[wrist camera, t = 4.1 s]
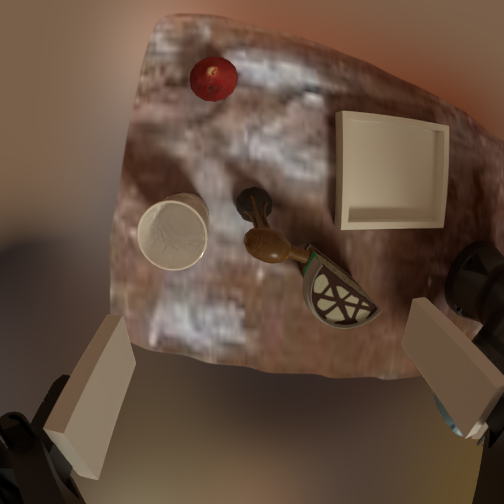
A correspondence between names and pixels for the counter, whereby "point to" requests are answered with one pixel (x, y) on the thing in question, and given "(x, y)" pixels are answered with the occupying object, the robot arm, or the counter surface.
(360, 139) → the tray
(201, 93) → the onion
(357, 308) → the food container
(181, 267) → the white cup
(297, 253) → the wooden tabletop sculpture
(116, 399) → the robot arm
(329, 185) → the counter surface
